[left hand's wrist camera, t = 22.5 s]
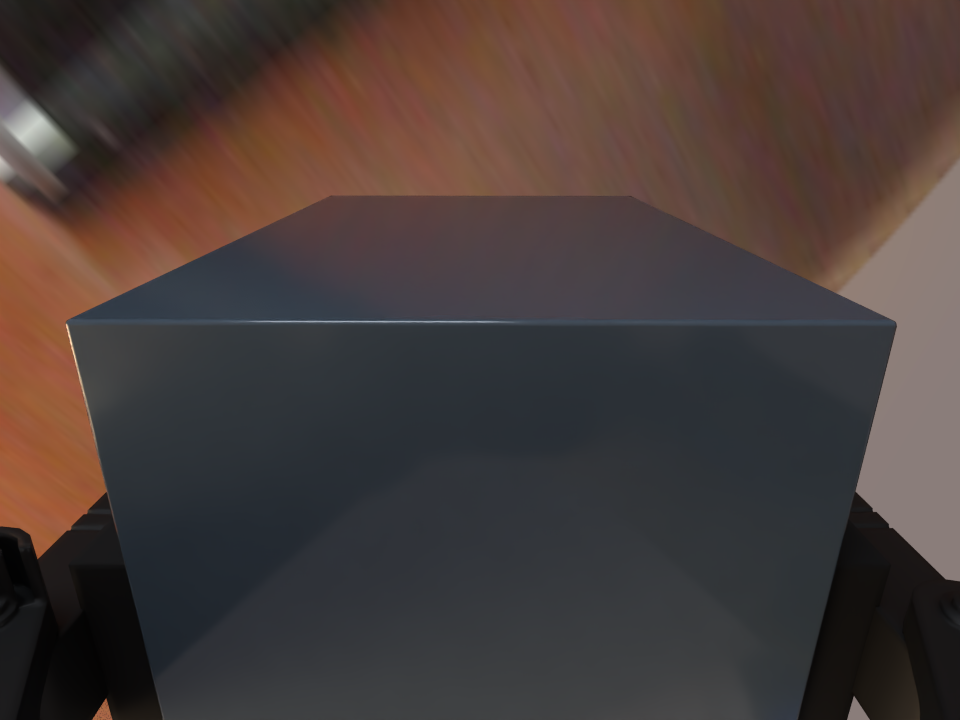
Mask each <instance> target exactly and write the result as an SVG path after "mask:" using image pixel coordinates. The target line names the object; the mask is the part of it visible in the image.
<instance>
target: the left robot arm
mask: <svg viewBox="0 0 960 720" xmlns="http://www.w3.org/2000/svg"><path fill="white" fill-rule="evenodd" d="M854 696H855V698H856V699H857V701H858V702H859V704H860V705H861V707H862V708H863V710H864V711H865V713H866V714H867V716H868V718H869V719H870V720H960V581H953V580H946V579H945V578H944V577H943V576H942V575H940V574H939V573H938V572H937V571H936V570H935V569H934V568H933V567H932V566H931V565H930V564H929V563H928V562H927V561H926V560H925V559H924V558H923V557H922V556H921V555H920V554H919V553H918V552H917V551H916V550H915V549H914V548H913V547H912V546H911V545H910V544H909V543H908V542H907V541H906V540H905V539H904V538H903V537H901V536H900V535H899V534H898V533H897V532H896V531H895V530H894V529H893V528H889V524H888V523H887V522H886V521H885V520H884V519H883V518H882V517H881V516H880V515H879V514H878V513H877V512H873V510H872V507H871V506H870V505H869V504H868V503H867V502H866V501H865V500H863V499H862V498H861V497H860V496H859V495H858V494H857V493H856V492H855V495H854V499H853V502H852V506H851V510H850V514H849V518H848V522H847V526H846V530H845V534H844V538H843V542H842V546H841V550H840V554H839V558H838V562H837V566H836V570H835V574H834V578H833V582H832V586H831V590H830V594H829V598H828V602H827V606H826V610H825V614H824V618H823V622H822V626H821V630H820V634H819V638H818V642H817V646H816V650H815V654H814V658H813V662H812V666H811V670H810V674H809V678H808V682H807V686H806V690H805V694H804V698H803V701H802V705H801V709H800V713H799V717H798V720H847V718H848V714H849V711H850V707H851V704H852V700H853V697H854ZM105 699H107V702H108V705H109V709H110V712H111V716H112V719H113V720H163V718H162V714H161V710H160V706H159V702H158V698H157V694H156V689H155V685H154V681H153V677H152V673H151V669H150V665H149V661H148V657H147V653H146V649H145V645H144V641H143V637H142V633H141V629H140V625H139V621H138V617H137V613H136V609H135V605H134V600H133V596H132V592H131V588H130V584H129V580H128V576H127V572H126V568H125V564H124V560H123V556H122V552H121V548H120V544H119V540H118V536H117V532H116V528H115V524H114V520H113V516H112V511H111V507H110V503H109V499H108V495H107V492H106V493H105V494H104V495H103V496H102V497H101V498H100V499H99V500H98V501H97V502H96V503H95V504H94V505H93V506H92V507H91V508H90V509H89V510H88V513H87V514H84V515H83V516H82V517H81V518H80V519H78V520H77V521H76V522H75V523H74V524H73V525H72V526H71V531H66V532H65V533H64V534H63V535H62V536H61V537H60V538H59V539H58V540H57V541H56V542H55V543H54V544H53V545H52V546H51V547H50V548H49V549H48V550H47V551H46V552H45V553H44V554H43V555H42V556H41V557H40V558H39V559H38V560H37V556H36V553H35V550H34V547H33V543H32V540H31V537H30V535H29V534H28V533H26V532H24V531H23V530H21V529H20V528H11V527H0V720H92V719H93V717H94V716H95V714H96V713H97V711H98V710H99V708H100V707H101V705H102V703H103V702H104V700H105Z"/></svg>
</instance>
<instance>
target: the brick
mask: <svg viewBox="0 0 960 720" xmlns="http://www.w3.org/2000/svg"><path fill="white" fill-rule="evenodd" d="M896 327H897V325H896V322H895V321H893V320H891V319H889V318H887V317H885V316H883V315H880V314H878V313H876V312H874V311H872V310H870V309H868V308H866V307H864V306H862V305H859V304H857V303H855V302H853V301H851V300H849V299H847V298H845V297H842V296H840V295H838V294H836V293H834V292H832V291H830V290H828V289H826V288H824V287H821V286H819V285H817V284H815V283H813V282H811V281H809V280H807V279H805V278H802V277H800V276H798V275H796V274H794V273H792V272H790V271H788V270H786V269H783V268H781V267H779V266H777V265H775V264H773V263H771V262H769V261H767V260H765V259H762V258H760V257H758V256H756V255H754V254H752V253H750V252H748V251H746V250H743V249H741V248H739V247H737V246H735V245H733V244H731V243H729V242H727V241H724V240H722V239H720V238H718V237H716V236H714V235H712V234H710V233H708V232H705V231H703V230H701V229H699V228H697V227H695V226H693V225H691V224H689V223H686V222H684V221H682V220H680V219H678V218H676V217H674V216H672V215H670V214H667V213H665V212H663V211H661V210H659V209H657V208H655V207H653V206H651V205H648V204H646V203H644V202H642V201H640V200H638V199H636V198H634V197H632V196H329V197H327V198H325V199H323V200H321V201H318V202H316V203H314V204H312V205H310V206H308V207H306V208H304V209H302V210H299V211H297V212H295V213H293V214H291V215H289V216H287V217H285V218H282V219H280V220H278V221H276V222H274V223H272V224H270V225H268V226H266V227H263V228H261V229H259V230H257V231H255V232H253V233H251V234H249V235H246V236H244V237H242V238H240V239H238V240H236V241H234V242H232V243H230V244H227V245H225V246H223V247H221V248H219V249H217V250H215V251H213V252H210V253H208V254H206V255H204V256H202V257H200V258H198V259H196V260H194V261H191V262H189V263H187V264H185V265H183V266H181V267H179V268H177V269H174V270H172V271H170V272H168V273H166V274H164V275H162V276H160V277H158V278H155V279H153V280H151V281H149V282H147V283H145V284H143V285H141V286H138V287H136V288H134V289H132V290H130V291H128V292H126V293H124V294H122V295H119V296H117V297H115V298H113V299H111V300H109V301H107V302H105V303H102V304H100V305H98V306H96V307H94V308H92V309H90V310H88V311H86V312H83V313H81V314H79V315H77V316H75V317H73V318H71V319H69V320H67V321H66V329H67V333H68V338H69V342H70V346H71V350H72V354H73V358H74V362H75V366H76V370H77V374H78V378H79V382H80V386H81V390H82V394H83V398H84V402H85V406H86V410H87V414H88V418H89V422H90V427H91V431H92V435H93V439H94V443H95V447H96V451H97V455H98V459H99V463H100V467H101V471H102V475H103V479H104V483H105V487H106V491H107V495H108V499H109V503H110V507H111V511H112V516H113V520H114V524H115V528H116V532H117V536H118V540H119V544H120V548H121V552H122V556H123V560H124V564H125V568H126V572H127V576H128V580H129V584H130V588H131V592H132V596H133V600H134V605H135V609H136V613H137V617H138V621H139V625H140V629H141V633H142V637H143V641H144V645H145V649H146V653H147V657H148V661H149V665H150V669H151V673H152V677H153V681H154V685H155V689H156V694H157V698H158V702H159V706H160V710H161V714H162V718H163V720H798V717H799V713H800V709H801V705H802V701H803V698H804V694H805V690H806V686H807V682H808V678H809V674H810V670H811V666H812V662H813V658H814V654H815V650H816V646H817V642H818V638H819V634H820V630H821V626H822V622H823V618H824V614H825V610H826V606H827V602H828V598H829V594H830V590H831V586H832V582H833V578H834V574H835V570H836V566H837V562H838V558H839V554H840V550H841V546H842V542H843V538H844V534H845V530H846V526H847V522H848V518H849V514H850V510H851V506H852V502H853V499H854V495H855V491H856V487H857V483H858V479H859V475H860V470H861V467H862V463H863V458H864V455H865V451H866V446H867V443H868V439H869V435H870V431H871V427H872V423H873V419H874V415H875V411H876V407H877V403H878V399H879V395H880V391H881V387H882V383H883V379H884V375H885V371H886V367H887V363H888V359H889V355H890V351H891V347H892V343H893V339H894V335H895V331H896Z"/></svg>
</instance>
